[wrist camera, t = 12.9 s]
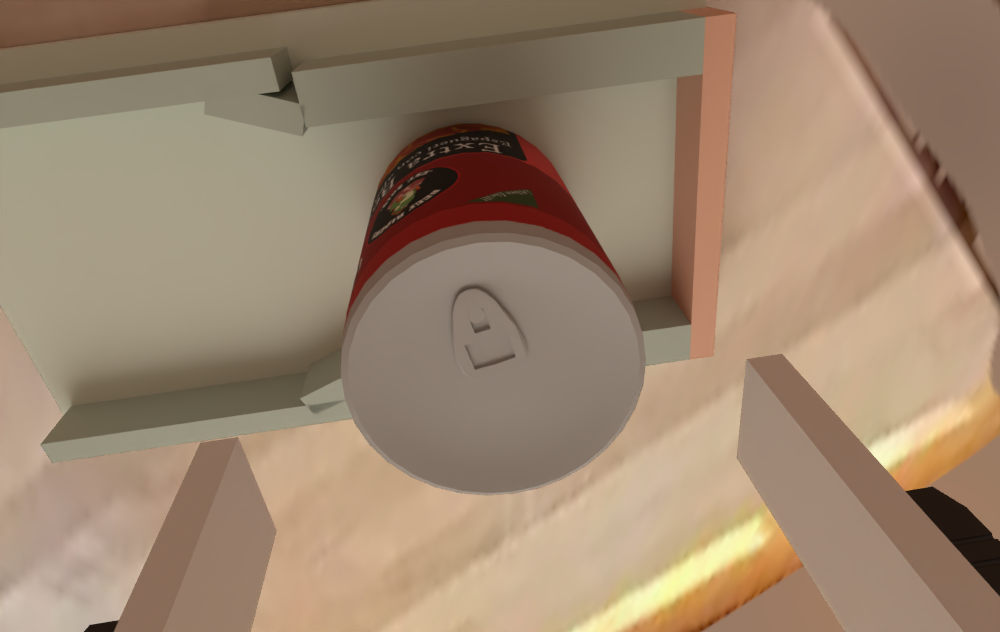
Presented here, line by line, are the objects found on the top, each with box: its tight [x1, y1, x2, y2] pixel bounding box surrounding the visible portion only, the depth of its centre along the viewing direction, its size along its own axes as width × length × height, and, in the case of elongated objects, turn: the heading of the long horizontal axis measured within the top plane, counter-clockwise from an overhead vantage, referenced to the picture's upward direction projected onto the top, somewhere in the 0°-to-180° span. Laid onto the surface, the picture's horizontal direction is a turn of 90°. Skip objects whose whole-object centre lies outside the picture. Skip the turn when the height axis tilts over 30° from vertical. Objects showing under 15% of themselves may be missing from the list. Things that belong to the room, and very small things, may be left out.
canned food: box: [341, 123, 646, 495], centre depth 21 cm, size 8×8×11 cm
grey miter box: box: [0, 0, 737, 463], centre depth 25 cm, size 28×16×4 cm, turn 96°
